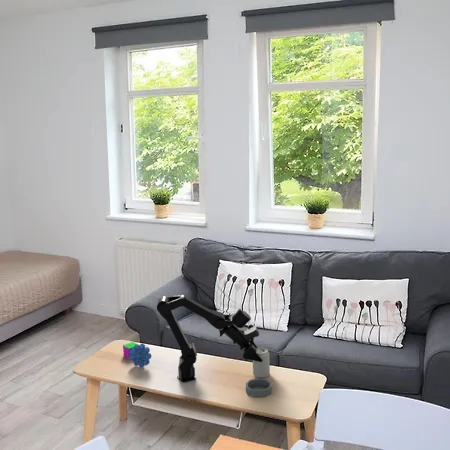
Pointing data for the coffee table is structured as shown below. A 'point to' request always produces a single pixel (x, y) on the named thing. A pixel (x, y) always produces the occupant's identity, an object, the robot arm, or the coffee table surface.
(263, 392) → the ring holder
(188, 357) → the robot arm
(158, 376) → the coffee table surface
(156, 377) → the coffee table surface
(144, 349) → the grapes
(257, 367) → the can
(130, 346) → the puzzle toy
